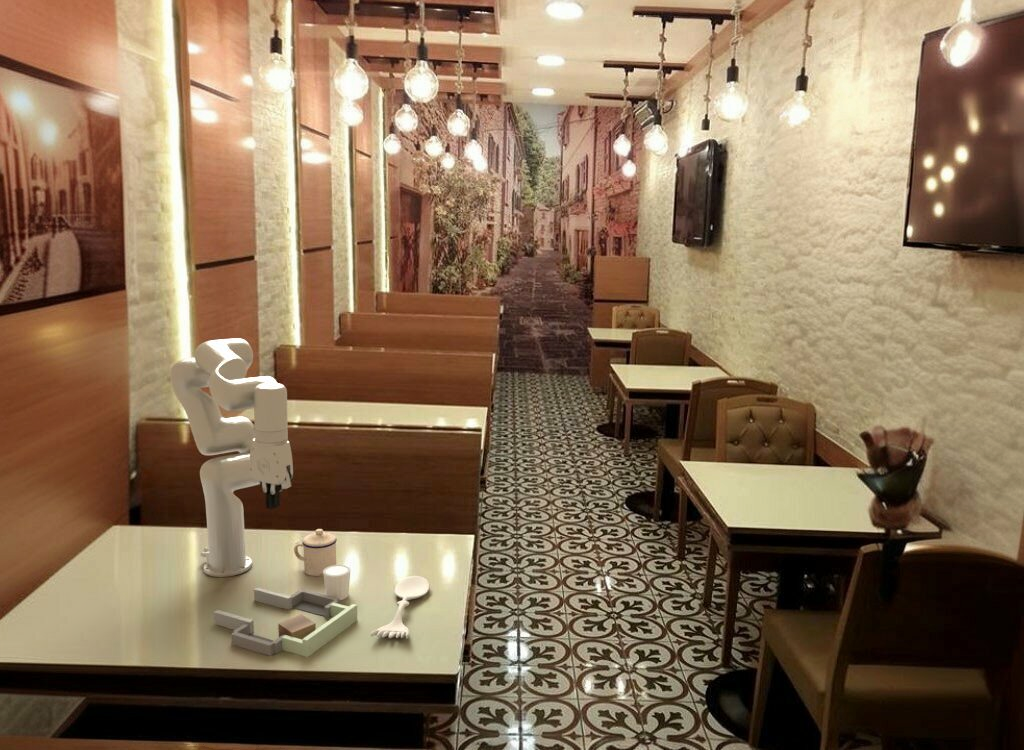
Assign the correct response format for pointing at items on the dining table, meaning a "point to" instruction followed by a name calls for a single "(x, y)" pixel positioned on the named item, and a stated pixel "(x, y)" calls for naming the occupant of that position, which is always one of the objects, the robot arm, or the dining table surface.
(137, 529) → the dining table surface
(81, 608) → the dining table surface
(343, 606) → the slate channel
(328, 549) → the teacup with lid
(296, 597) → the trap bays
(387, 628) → the spoon
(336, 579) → the shot glass
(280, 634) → the walnut block
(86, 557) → the dining table surface
